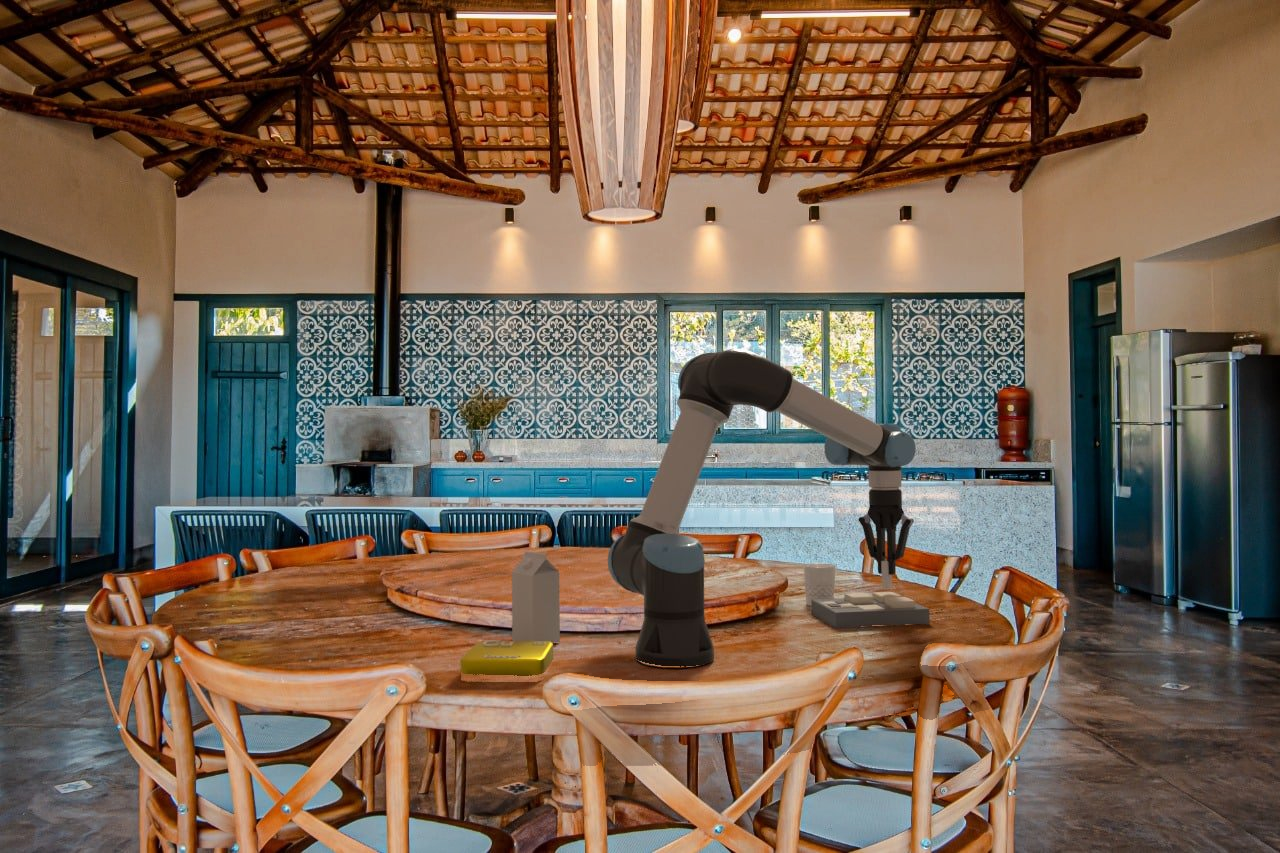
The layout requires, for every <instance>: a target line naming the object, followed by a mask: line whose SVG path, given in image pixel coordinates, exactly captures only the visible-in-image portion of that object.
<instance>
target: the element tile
mask: <svg viewBox="0 0 1280 853" xmlns="http://www.w3.org/2000/svg"><path fill="white" fill-rule="evenodd" d="M553 659H554V644H553V643H551V642H550V641H511V640H507V641H505V640H498V639H492V640H491V639H489V640H483V641H478V642H477V643H475V644H474V645H473V646H472V647H471V648H470V649H469V650H468V651H466V653H465V654H464V655H462V657H461V658H460V674H461V673H463V674H473V675H474V674H475V675H477V674H478V675H479V674H483V675H484V674H485V675H514V676H515V675H517V676H529V675H530V676H532V675H539V674H542V673H544V672H545V670H546V669H547V667H548V666H549V665H550V663H551V662H552V660H553Z"/></svg>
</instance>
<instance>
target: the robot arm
mask: <svg viewBox="0 0 1280 853" xmlns="http://www.w3.org/2000/svg"><path fill="white" fill-rule="evenodd" d="M677 380H678V381H677V388H678V389H679V395H678V399H677V402H676V404H677V406H678V409H679V411H680V414H678V415H679V416H678V418H677V420H676V423H675V425H674V429H673V431H672V433H671V435H670V438H669V441H668V443H667V446H666V448H665V452H664V454H663V456H662V459H661V461H660V464H659V467H658V468H657V472H656V475H655V477H654V479H653V482H652V485H651V487H650V489H649V492H648V494H647V497H646V500H645V501H644V502H645V503H644V505H643V507H642V509H641V512H640V514H639V515H638V516H637V517H634V518H631V519H630V521H629V523H628V526H627V527H626V530H625V533H624V534H622V535H621V536H620V537H618V538H616V539H615V540H614V541H613V543H612V544H611V546H610V547H609V551H608V553H607V554H608V555H607V567H608V571H609V574H610V576H611V577H612V580H614V581H615V583H616V584H618V585H619V586H620V587H622V588H623V589H625V590H626V591H628V592H631V593H633V594H639V595H642V596H643V610H644V611H643V614H644V615H643V621H642V625H641V627H640V632H639V634H638V637H637V642H636V645H635V651H634V652H635V660H636V659H637V660H639V661H642V662H645V663H649V664H655V665H661V666H680V667H681V666H684V667H686V666H696V665H702V666H704V665H703V664H706V665H708V664H710V663H712V662H714V661H715V648H714V644H713V641H712V638H711V634H710V632H709V629H708V626H707V622H706V619H705V563H706V562H705V561H706V560H705V555H704V554H705V553H704V546H703V544H702V542H700V540H699V539H697V538H695V537H692V536H688V535H685V534H684V535H683V534H682V535H681V534H680V531H679V530H680V526H681V524H682V522H683V518H684V516H685V513H686V512H687V508H688V506H689V503H690V501H691V499H692V495H693V492H694V490H695V487H696V484H697V482H698V480H699V476H700V474H701V472H702V470H703V467H704V464H705V463H706V462H705V461H706V459H707V456H708V454H709V451H710V449H711V446H712V443H713V441H714V438H715V436H716V433H717V430H718V428H719V426H722V425H724V424H726V423H728V421H729V418H730V416H731V413H732V410H733V408H734V406H737V405H738V406H740V405H741V406H751V407H755V408H758V409H761V410H763V411H764V412H767V413H774V412H777V413H778V414H781V415H783V416H785V417H787V418H789V419H790V420H793V421H795V422H797V423H799V424H801V425H803V426H805V427H807V428H809V429H811V430H812V431H814V432H816V433H819V434H820V435H823V436H824V437H826V439H825V442H824V446H823V449H824V456H825V458H826V460H827V461H828V463H829V464H831V465H834V466H868V469H867V471H868V487H869V488H870V489H869V490H868V501H869V502H868V504H869V505H868V506H869V507H868V509H867V513H866V514H865V515H863V516H860V517H858V522H859V523H860V525H861V526H862V529H863V533H864V538H865V541H866V546H867V549H868V554H869V557H870V558H874V559H876V560H877V573H878V574H879V575H881V589H883V590H889V589H892V588H893V575H895V574H896V566H897V565H896V561H897V560H900V559H902V558H904V555H905V550H906V546H907V541H908V537H909V533H910V528H911V527H912V525H913V524H914V521H915V519H913V518H910V517H908V516H907V515H906V514H905V511H904V509H903V507H902V506H903V498H902V497H903V495H902V493H903V492H902V490H901V489H900V488H902V467H905V466H907V465H909V464H911V463H912V461H913V460H914V458H915V456H916V452H917V451H916V450H917V447H916V446H917V445H916V442H915V440H914V438H913V437H912V435H911V434H909V433H908V432H905V431H901V429H900V425H898V424H897V423H876V422H874V421H872V420H870V419H869V418H867V417H865V416H863V415H861V414H860V413H857V412H856V411H854V410H852V409H850V408H848V407H847V406H845V405H842V404H841V403H839V402H837V401H836V400H833V399H831V398H830V397H828V396H826V395H824V394H823V393H820V392H819V391H817V390H815V389H813V388H812V387H809V386H808V385H806V384H804V383H802V382H800V381H798V380H797V379H795V378H794V375H793V373H792V372H791V371H790V370H789V369H787V368H784V367H783V366H781V365H779V364H778V363H776V362H774V361H772V360H770V359H768V358H766V357H764V356H762V355H759V354H757V353H755V352H753V351H751V350H750V351H749V350H747V349H742V348H732V349H731V348H730V349H729V348H728V349H726V350H721V351H716V352H705V353H704V352H703V353H700V354H698V355H697V356H694V357H692V358H691V359H689V360H688V361H687V362H686V363H685V364H684V365H683V366H682V367H681V369H680V372H679V374H678V378H677ZM900 521H901V522H900ZM871 522H873V524H874V525H875V533H876V538H875V535H874V534H875V533H874V532H873V531H874V530H873V527H872V524H871ZM899 523H901V526H900V530H899V536H898V540H897V538H896V536H897V535H896V534H897V532H896V531H897V526H898V525H899ZM875 539H876V540H875ZM886 551H887V554H886ZM886 555H887V556H886ZM711 661H712V662H711ZM709 662H710V663H709ZM707 663H708V664H707Z"/></svg>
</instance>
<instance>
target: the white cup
mask: <svg viewBox="0 0 1280 853" xmlns="http://www.w3.org/2000/svg"><path fill="white" fill-rule="evenodd" d="M803 578H804V579H803V581H804V593H805V603H806V605H807V606H809V607H812V605H811V600H814V599H835V598H834V597H835V586H836V581H835V580H836V565H835V564H832V563H826V562H821V563H820V562H815V563H814V562H812V563H805V564H803Z"/></svg>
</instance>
